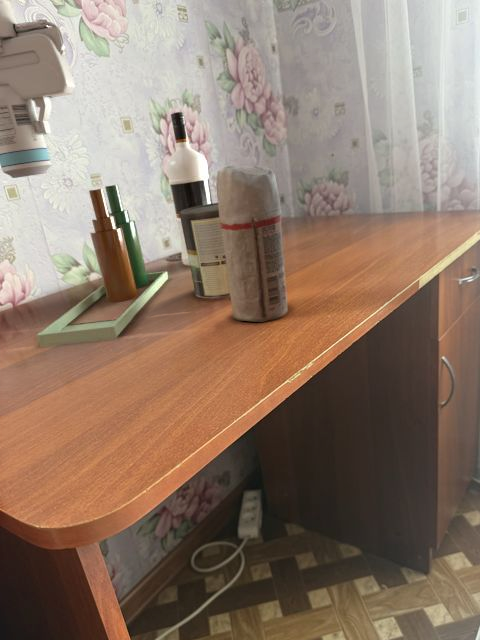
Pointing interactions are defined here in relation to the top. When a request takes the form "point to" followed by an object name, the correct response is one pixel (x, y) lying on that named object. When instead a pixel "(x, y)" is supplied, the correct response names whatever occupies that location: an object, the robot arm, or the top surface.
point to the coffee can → (205, 250)
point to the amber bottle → (111, 252)
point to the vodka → (186, 176)
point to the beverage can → (20, 137)
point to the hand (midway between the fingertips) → (18, 138)
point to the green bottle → (128, 236)
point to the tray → (100, 329)
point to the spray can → (252, 242)
